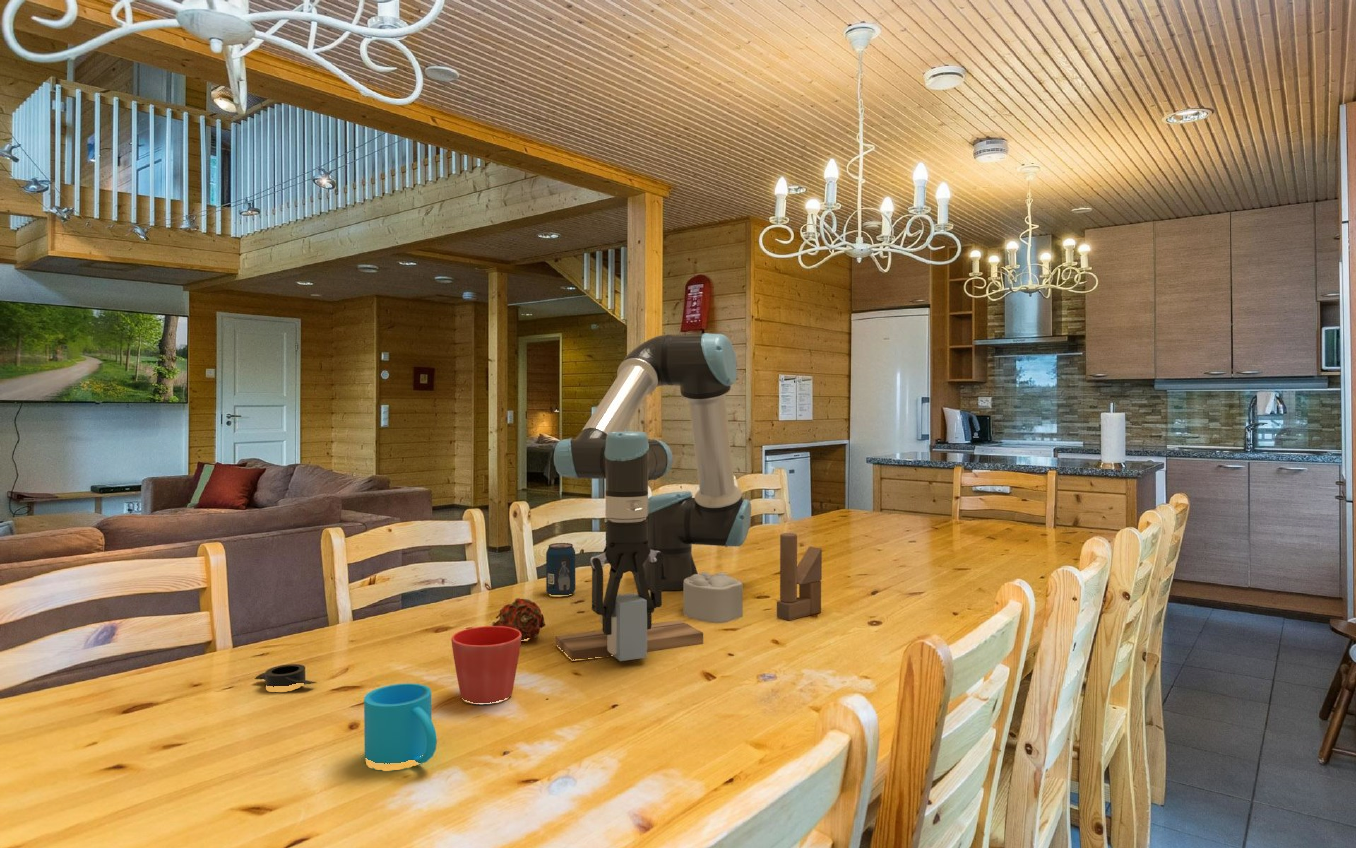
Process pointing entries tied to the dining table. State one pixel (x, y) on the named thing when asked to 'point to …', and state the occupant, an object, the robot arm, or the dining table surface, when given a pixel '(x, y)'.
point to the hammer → (630, 626)
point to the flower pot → (486, 662)
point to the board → (657, 639)
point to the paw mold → (712, 597)
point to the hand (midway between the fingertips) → (627, 649)
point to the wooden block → (799, 580)
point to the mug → (399, 724)
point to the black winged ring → (285, 675)
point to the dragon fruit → (522, 617)
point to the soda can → (560, 569)
